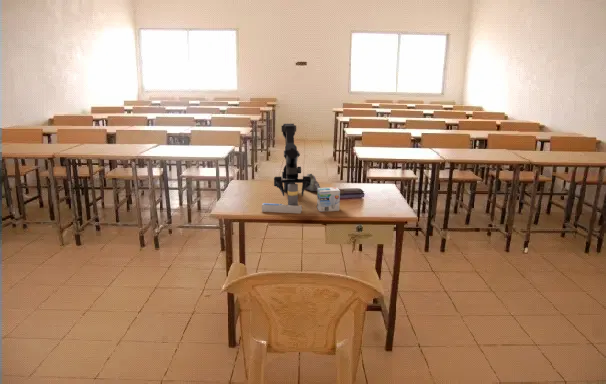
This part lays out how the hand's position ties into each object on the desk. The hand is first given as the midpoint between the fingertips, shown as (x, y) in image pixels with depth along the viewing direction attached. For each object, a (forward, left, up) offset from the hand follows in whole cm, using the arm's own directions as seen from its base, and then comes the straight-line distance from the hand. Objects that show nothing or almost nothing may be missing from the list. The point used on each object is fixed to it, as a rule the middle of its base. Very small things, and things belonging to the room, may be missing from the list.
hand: (292, 195), depth 230 cm
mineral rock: (-20, +31, -8) cm, 38 cm away
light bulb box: (+11, +14, -8) cm, 20 cm away
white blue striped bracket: (-2, -6, -8) cm, 10 cm away
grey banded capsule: (-1, +1, -8) cm, 8 cm away
